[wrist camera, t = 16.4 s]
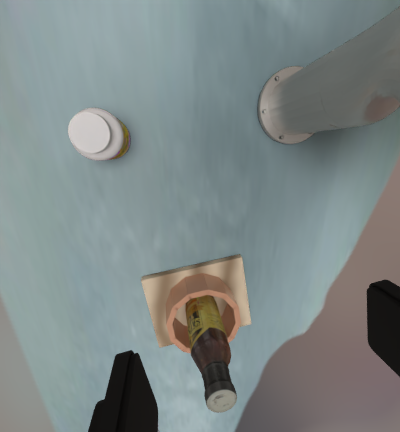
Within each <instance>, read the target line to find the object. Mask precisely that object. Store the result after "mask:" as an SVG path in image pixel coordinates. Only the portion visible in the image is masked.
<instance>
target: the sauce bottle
mask: <svg viewBox="0 0 400 432" xmlns="http://www.w3.org/2000/svg"><path fill="white" fill-rule="evenodd" d="M185 311H186V319H187V327H188V335H189V343H190V351H191V356H192V358H193V360H194V362H195V363H196V365H197V367H198V368H199V370H200V372H201V374H202V378H203V380H204V387H205V400H206V405H207V407H208V409H210V410H211V411H213V412H217V413H219V412H225V411H227V410H229V409H231V408H232V407H233V406H234V405H235V403H236V400H237V395H236V391H235V388H234V386H233V384H232V382H231V378H230V375H229V369H228V364H229V363H230V359H231V352H230V347H229V344H228V339H227V335H226V332H225V328H224V325H223V322H222V319H221V316H220V312H219V309H218V306H217V303H216V301H215V299H214V297H213V296H211V295H205V296H200V297H196V298H192V299H190V300H189V301H188V302H186V308H185Z"/></svg>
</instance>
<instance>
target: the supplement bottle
mask: <svg viewBox="0 0 400 432" xmlns="http://www.w3.org/2000/svg"><path fill="white" fill-rule="evenodd" d="M68 134H69V137H70V140H71V142H72V144H73V146H74V147H75V149H76V150H77V151H78V152H79V153H80V154H82V155H83V156H85V157H86V158H88V159H91V160H96V161H103V160H111V159H117V158H120V157H121V156H123V155H124V154H125V153H126V152H127V151H128V149H129V146H130V134H129V131H128V129H127V128H126V126H125V125H124V124H123V123H122V122H121V121H120V120H118V119H117V118H116V117H114V116H113V115H112V114H110V113H109V112H107V111H105V110H103V109H99V108H87V109H84V110H82V111H80V112H79V113H77V114H76V115H75V116H74V117H73V118H72V119H71V121H70V123H69V127H68Z"/></svg>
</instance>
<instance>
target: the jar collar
mask: <svg viewBox="0 0 400 432" xmlns="http://www.w3.org/2000/svg"><path fill="white" fill-rule="evenodd" d="M205 295H211V296H215V297H219V298H223V299H224V300H225V301H226V302H227V305H226V308H225V310H224V312H223V315H222V316H221V319H222V322H223V325H224V328H225V332H226V335H227V339H228V343H229V342H230V341H232V340H233V339H234V337H235V335H236V333H237V331H238V328H239V326H240V324H241V319H240V312H239V306H238V304H237V302H236V300H235V298H234V296H233V294H232V292H231V290H230V288H229V287H228V286H227V285H226V284H225V283H224V282H223V281H222V280H221V279H220V278H219V277H216V276H212V275H209V274H205V273H200V274H196V275H192V276H188V277H185V278H183V279H182V280H181V281H180V282H179V283H177V284H176V285H175V286H174V287H173V288H172V289H171V291H170V294H169V297H168V299H167V302H166V326H167V329H168V333H169V337H170V341H171V342H172V343H174V344H175V345H176V346H177V347H178V348H179V349H181V350H182V351H183V352H187V353H191V351H190V343H189V335H188V327H187V326H185V325H183V324H182V323H181V322H180V321H178V320H177V319H176V318H175V316H176V313H177V310H178V309H179V308H180V307H182V306H183V305H184V304H185V303H186V302H188V301H189V300H190V299H192V298H196V297H200V296H205Z"/></svg>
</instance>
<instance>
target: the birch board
mask: <svg viewBox="0 0 400 432" xmlns="http://www.w3.org/2000/svg"><path fill="white" fill-rule="evenodd" d="M200 273H205V274H209V275H212V276H216V277H219V278H220V279H221V280H222V281H223V282H224V283H225V284H226V285H227V286H228V287H229V288H230V290H231V292H232V294H233V296H234V298H235V300H236V302H237V304H238V306H239V312H240V319H241V324H240V326H239V327H241V326H245V325H249V324H251V318H250V311H249V304H248V297H247V290H246V282H245V275H244V268H243V261H242V257H241V255H240V254H238V255H234V256H230V257H225V258H221V259H217V260H212V261H208V262H204V263H199V264H195V265H191V266H186V267H182V268H178V269H173V270H169V271H164V272H160V273H156V274H151V275H147V276H143V277H142V279H141V282H142V285H143V289H144V293H145V296H146V300H147V304H148V307H149V311H150V315H151V318H152V322H153V326H154V329H155V333H156V337H157V340H158V344H159V348H160V347H164V346H168V345H172V344H174V343H172V342H171V341H170V337H169V333H168V329H167V326H166V302H167V299H168V297H169V294H170V291H171V289H172V288H173V287H174V286H175V285H176V284H177V283H179V282H180V281H181V280H182V279H183V278H185V277H188V276H192V275H196V274H200ZM213 297H214V299H215V301H216V303H217V306H218V309H219V312H220V316H222V315H223V312H224V310H225V308H226V305H227V302H226V301H225V300H224V299H223V298H219V297H215V296H213ZM185 308H186V303H185V304H184V305H183V306H182V307H180V308H179V309H178V310H177V313H176V316H175V318H176V319H177V320H178V321H180V322H181V323H182V324H183V325H185V326H187V319H186V311H185Z"/></svg>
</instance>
